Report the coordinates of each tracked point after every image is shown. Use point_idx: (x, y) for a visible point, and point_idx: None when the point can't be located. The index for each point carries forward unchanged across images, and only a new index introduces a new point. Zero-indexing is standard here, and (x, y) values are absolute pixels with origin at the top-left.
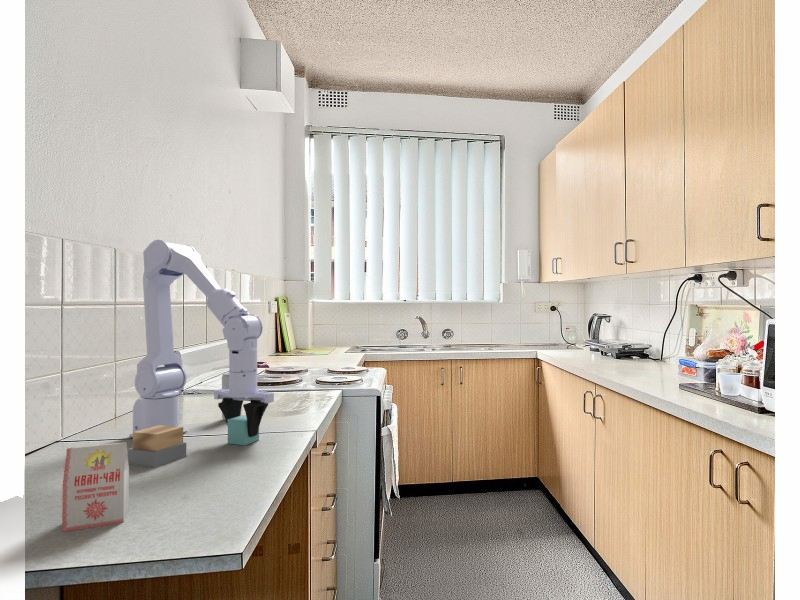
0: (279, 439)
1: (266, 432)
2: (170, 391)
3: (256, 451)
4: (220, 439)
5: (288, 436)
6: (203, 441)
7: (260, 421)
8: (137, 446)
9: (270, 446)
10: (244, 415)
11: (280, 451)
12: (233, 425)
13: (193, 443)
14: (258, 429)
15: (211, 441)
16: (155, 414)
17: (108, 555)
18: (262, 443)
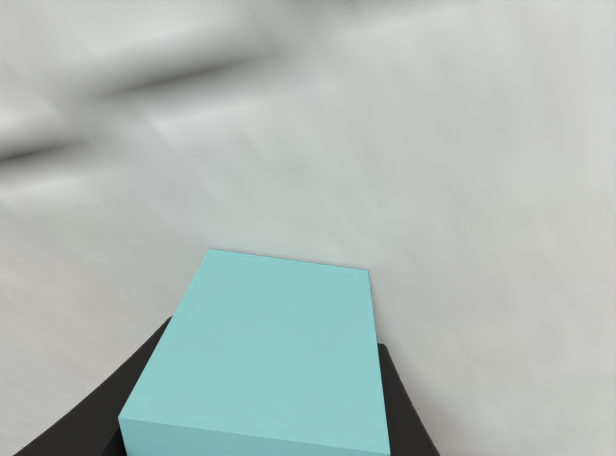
0: (531, 223)
1: (287, 11)
2: None
3: (463, 429)
4: (84, 290)
5: (601, 118)
6: (31, 336)
7: (431, 443)
8: None
9: (514, 363)
10: (163, 430)
11: (605, 419)
12: None
13: (23, 369)
14: (373, 335)
15: (75, 330)
16: None
17: None
18: (431, 323)
